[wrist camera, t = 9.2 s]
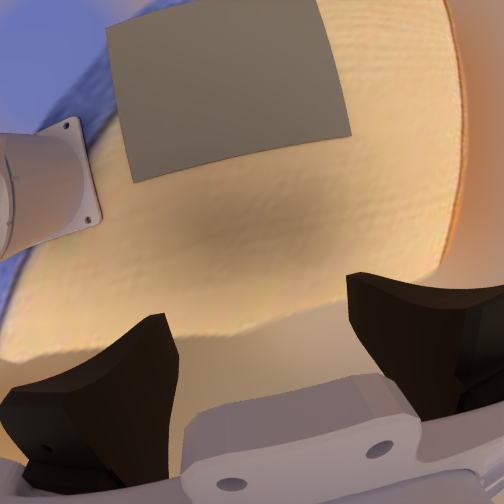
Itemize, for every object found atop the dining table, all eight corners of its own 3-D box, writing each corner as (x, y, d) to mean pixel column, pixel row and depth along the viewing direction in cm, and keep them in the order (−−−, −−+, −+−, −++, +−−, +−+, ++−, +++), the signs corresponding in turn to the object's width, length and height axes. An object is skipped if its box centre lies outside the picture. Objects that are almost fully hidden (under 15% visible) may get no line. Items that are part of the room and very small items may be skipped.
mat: (135, 182, 20) (133, 183, 19) (107, 30, 16) (105, 28, 16) (349, 136, 20) (351, 135, 20) (309, -9, 17) (311, -12, 16)
